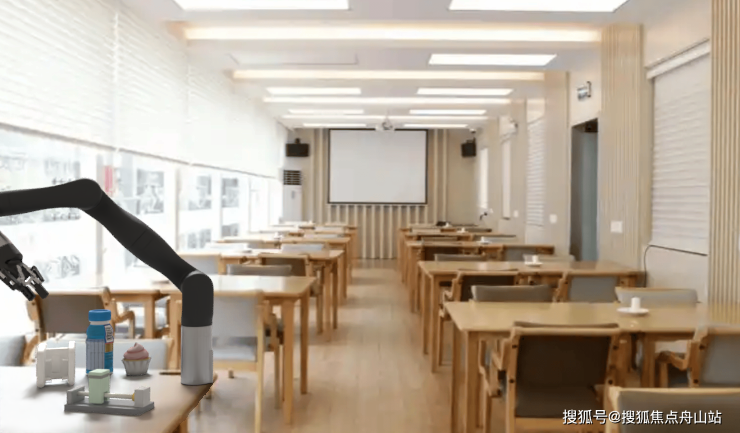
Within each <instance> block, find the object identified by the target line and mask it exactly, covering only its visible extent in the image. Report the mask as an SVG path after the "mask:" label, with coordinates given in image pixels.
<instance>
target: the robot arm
mask: <svg viewBox="0 0 740 433" xmlns="http://www.w3.org/2000/svg"><path fill="white" fill-rule="evenodd" d="M63 208H64V209H68V208H69V209H78V210H80V211H82V212H83V213H85V214H87V215H88V216H89V217H91V218H92V219H94V220H96V221H97V222H98V223H99V224H101V225H102V226H103V227H104V228H105V229H106V230H107V232H109V234H111V235H112V237H113V238H115V239H116V241H117V242H118V243H119V244H120V245H121V246H123V248H124V249H126V251H128V252H129V253H130V254H132V255H133V256H134V257H135V258H136V259H138V260H139V261H141V262H142V263H144V264H145V265H146V266H148V267H150V268H151V269H153V270H154V271H156V272H159V273H160V274H162V276H164V277H165V278H167V279H168V281H170V282H171V284H172V285H174V286H175V287H176V288H177V289H178V291H179V292H180V293H181V317H180V383H181V384H183V385H189V386H199V385H206V384H212V383H213V384H214V351H213V317H214V305H215V304H214V301H215V290H214V289H215V288H214V287H215V286H214V282H213V280H212V279H211V277H210V276H209V275H208V274H206V273H205V272H203V271H201V270H199V269H197V268H196V267H195V266H193V265H192V264H190V263H189V262H188V261H186V260H185V259H183V258H182V257H181V256H180V255H179V254H178V253H177V252H176V251H175V250H174V248H172V247H171V245H170V244H169V243H168V242H167V241H166V240H165V239H164V238H163V237H162V236H161V235H160V234H158V232H156V231H155V230H154V229H153V228H151V227H150V226H149V225H147V224H146V223H145V222H144V221H143V220H141V219H139V218H138V217H137V216H135V215H133V214H132V213H130V212H128V211H127V210H125V209H124V208H122V207H121V206H119V205H118V204H117V203H116V202H115V201H114V200H113V199H112V198H111V197H110V195H108V194H107V193H106V192H105V191H104V190H103V189H102V187H101V185H100V184H99V183H98V182H97V181H96V180H94V179H93V178H90V177H87V176H86V177H85V176H84V177H79V178H77V179H74V180H71V181H68V182H64V183H60V184H57V185H51V186H43V187H34V188H20V189H9V190H0V217H1V218H2V217H10V216H11V217H12V216H17V215H19V216H20V215H24V214H29V213H34V212H38V211H43V210H44V211H45V210H50V209H63ZM23 255H24V254H22V253H21V251H20V250H19V248H17V247H16V246H15V245H14V243H13V242H12V241H11V240H10V239H9V238H8V237H7V235H5V234H4V233H3V232H2V231H1V230H0V281H1V282H2V283H4V284H5V286H7V287H8V288H9V289H10V290H11V291H13V292H14V291H17V292H18V293H21V294H22V295H23V296H24V297H25V298H26V299H27V301H29V302H33V301H34V300H35V299H36V297H37V295H38V296H39V297H40V298H41V300H45V299H47V297H48V296H50V295H49V293H50V292H49V291H48V290H47V289H46V288H45V286H44V285H43V283H44V282H45V279H44V277H43V275H42V274H41V273H40V270H39V269H38V268H37V266H36V265H32V266H30V267H29V266H28V265H27V264H26V263H25V262H24V261H23V258H24V256H23ZM29 277H30V278H29ZM31 288H32V289H34V291H33V290H32V289H31ZM35 292H36V293H37V295H36V294H35Z"/></svg>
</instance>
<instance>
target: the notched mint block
mask: <svg viewBox="0 0 740 433" xmlns="http://www.w3.org/2000/svg"><path fill="white" fill-rule="evenodd" d="M87 376H88V392H89V397H88V398H89V403H98V404H102V403H104V401H108V400H110V399H111V398H104V393H111V391H110V390H111V385H110V384H111V380H110V379H111V378H110V377H111V374H110V370H109V369H96V370H93V371H90V372H89V375H87Z"/></svg>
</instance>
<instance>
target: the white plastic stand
mask: <svg viewBox="0 0 740 433" xmlns="http://www.w3.org/2000/svg"><path fill="white" fill-rule="evenodd" d="M68 342H69V343H68V347H48V345H47V343H46V342H42V343H39V345H37V347H36V350H35V355H34V356H35V357H34V358H35V359H36V363H35V377H36V386H37V388H40V389H42V388H44V387H45V385H46V382H48V381H50V382H52V380H61V381H64V380H67V382H68V385H69V386H70V387H71V386H73V385H74V384H75V383H76V382H75V381H76V341H75V340H69V341H68Z"/></svg>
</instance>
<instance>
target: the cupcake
mask: <svg viewBox="0 0 740 433" xmlns="http://www.w3.org/2000/svg"><path fill="white" fill-rule="evenodd" d="M122 356H123V358H121V359H120V360H121V363H122V364H123V366H124V371H125V374H126V375H127V376H131V375H132V376H133V377H134V376H135V377H136V376H137V375H138V376H144V375H146V374H148V370H149V368H150V367H149V366H150V363H151V360H152V356H151V357H150V353H149V351H148V350H147V349H146V348H145V346H143V345H142V344H141V343H138V342H135V343H134V345H133V346H131V347H129V348H127V349H126V351H125V352H124V353H123V355H122Z"/></svg>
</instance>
